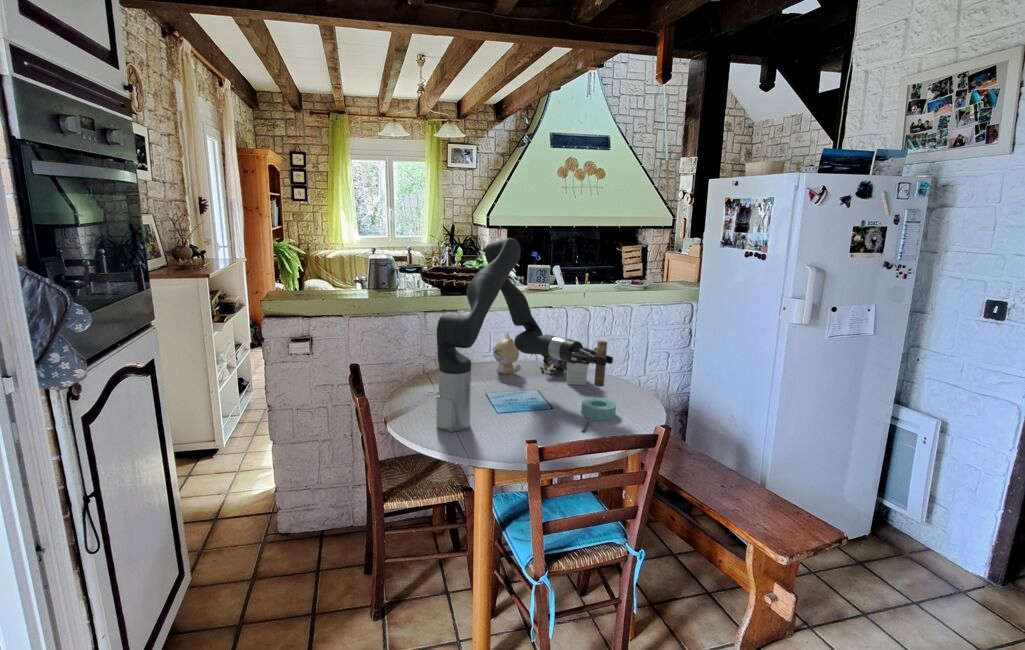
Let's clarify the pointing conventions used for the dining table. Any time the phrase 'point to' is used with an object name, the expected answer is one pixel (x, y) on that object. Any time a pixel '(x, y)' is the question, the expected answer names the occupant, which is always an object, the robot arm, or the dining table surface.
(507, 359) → the kitten
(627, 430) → the dining table surface
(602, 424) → the dining table surface
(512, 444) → the dining table surface
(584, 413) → the teal ring
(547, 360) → the decorative flower
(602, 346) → the brown wooden rod
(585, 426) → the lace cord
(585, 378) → the supplement box
